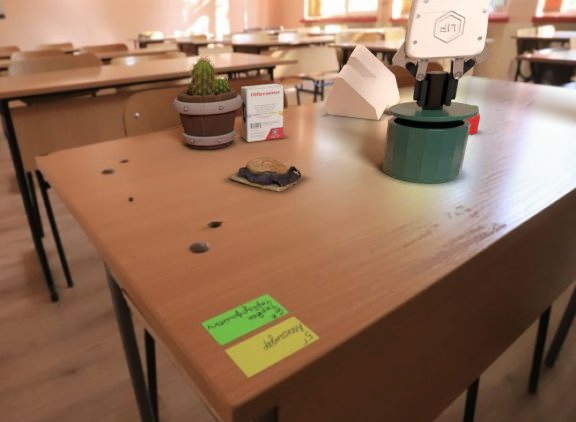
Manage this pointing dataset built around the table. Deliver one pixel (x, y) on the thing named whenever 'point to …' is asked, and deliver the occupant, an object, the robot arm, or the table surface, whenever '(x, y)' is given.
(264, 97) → the ink box
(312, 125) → the table surface
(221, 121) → the flowerpot
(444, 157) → the tin
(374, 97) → the slotted wedge
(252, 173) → the bread roll
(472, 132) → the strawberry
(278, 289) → the table surface
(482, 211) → the table surface
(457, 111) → the lid
